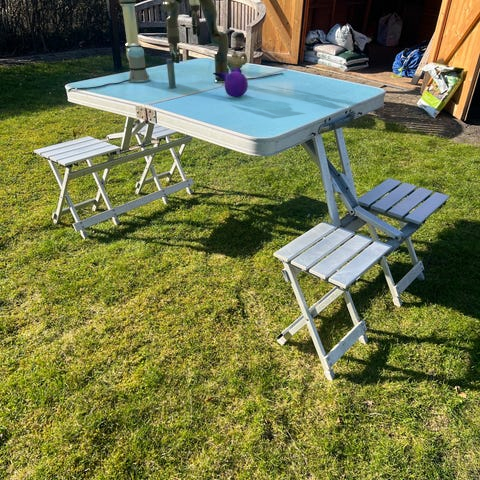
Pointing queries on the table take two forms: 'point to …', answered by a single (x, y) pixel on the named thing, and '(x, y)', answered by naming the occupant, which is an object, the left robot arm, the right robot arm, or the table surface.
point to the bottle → (171, 75)
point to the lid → (169, 61)
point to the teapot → (236, 60)
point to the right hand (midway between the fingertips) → (175, 62)
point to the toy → (234, 82)
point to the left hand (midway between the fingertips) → (196, 35)
